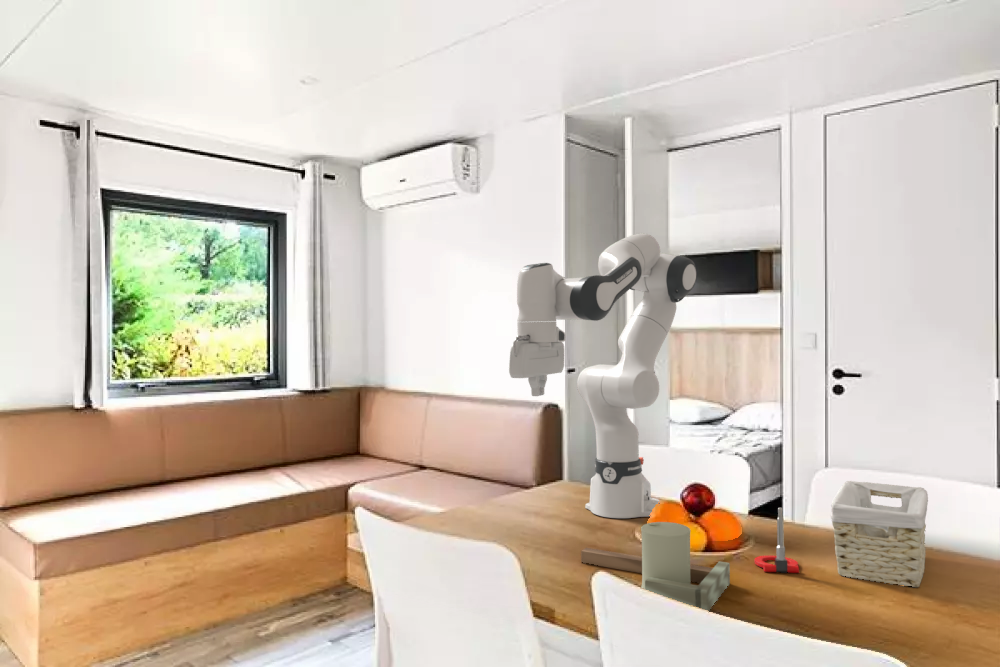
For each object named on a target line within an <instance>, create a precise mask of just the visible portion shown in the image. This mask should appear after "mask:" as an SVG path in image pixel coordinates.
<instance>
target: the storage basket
mask: <svg viewBox="0 0 1000 667" xmlns="http://www.w3.org/2000/svg"><path fill="white" fill-rule="evenodd" d="M872 496H874V497H884V498H890V499H893V498H894V499H895V498H896V499H901V506H889V505H882V504H876V503H873V502H872ZM928 496H929V494H928V491H927V490H926V489H925V488H924V487H921V486H920V487H919V486H918V487H915V486H908V485H900V484H899V485H898V484H887V483H886V484H885V483H878V482H876V483H875V482H868V481H867V482H865V481H854V480H847V481H845V482H844V483H843V485H841V487H840V488H839V489H838V491H837V493H836V495H835V496H834V498H833V499H832V502H831V505H830V506H831V515H830V519H831V524H832V526H833V529H832V530H833V534H834V535H833V536H834V537H833V538H834V545H835V546H834V551H835V557H836V562H837V574H838V575H839V576H842V577H845V576H846V577H845V578H850V577H851V579H857V578H858V580H862V579H864V580H863V581H869V580H870V582H874V581H876V582H875V583H880V582H884V583H883V584H886V583H890V584H889V585H893V584H898V585H897V586H899V585H904V586H912V587H911V588H919V587H920V585H921V583H922V580H923V578H924V573H925V566H926V565H925V563H926V546H925V545H926V542H925V541H926V533H925V532H926V526H927V524H926V516H927V513H928V503H929V497H928ZM904 586H903V587H904Z"/></svg>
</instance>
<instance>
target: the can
mask: <svg viewBox="0 0 1000 667" xmlns="http://www.w3.org/2000/svg"><path fill="white" fill-rule="evenodd" d="M640 531H641V557H642V573H641V574H642V575H641V577H642V578H641V589H642V588H644V589H645V580H646V579H647V578H648V577H652V578H658V579H663V580H669V581H675V582H681V583H686V584H692V582H691V579H690V564H691V528H690V527H689V526H687V525H684V524H681V523H677V522H669V521H656V522H655V521H654V522H649V523H648V522H647V523H644V524H643V525H642V526H641V527H640Z"/></svg>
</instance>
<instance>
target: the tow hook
mask: <svg viewBox="0 0 1000 667" xmlns="http://www.w3.org/2000/svg"><path fill="white" fill-rule="evenodd" d="M777 513H778V514H777V518H776V523H777V524H776V526H777V527H776V529H777V530H776V533H777V536H776V537H777V546H776V547H775V548H776V553H775V554H776V555H769V554H767V555H758V556H757V557H755V558H754V564H755V566H757V567H760V568H761V569H762V568H763V572H765V573H776V572H781V573H780V574H788V573H789V574H800V568H799V562H798V561H797V560H796V559H793V558H790V557H786V547H785V543H784V542H785V540H784V539H785V530H784V529H785V528H784V518H783V507H778V508H777ZM767 560H775V561H774V564H773V563H769V562H768V561H767ZM787 572H788V573H787Z"/></svg>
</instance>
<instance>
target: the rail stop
mask: <svg viewBox="0 0 1000 667" xmlns="http://www.w3.org/2000/svg"><path fill="white" fill-rule="evenodd" d="M581 562H583V563H582V564H586V563H589V564H588V565H591V564H594V565H593V566H597V565H598V566H599V567H602V568H603V567H604V568H610V569H615V570H621V571H628V572H633V573H638V574H642V555H641V556H639V555H633V554H629V553H628V554H627V553H623V552H615V551H611V550H610V551H608V550H603V549H598V548H591V547H585V548H583V549H582V550H580V563H581ZM730 566H731V565H730V562H726V561H719V560H718V562H717V563H716V565H714V567H709V566H703V565H696V564H691V563H690V579H691V581H692V582H691V584H686V583H681V582H675V581H669V580H663V579H658V578H652V577H648V578H647V579H646V580H645V589H646V590H649V591H652V592H654V593H657V594H660V595H663V596H666V597H668V598H672V599H675V600H677V601H680V602H683V603H686V604H689V605H693V606H696V607H699V608H702V609H705V610H708V611H709V612H710V611H711V610H712V608H713V607H714V606H715V604H716V603H717V602H718V601H719V599H720V598H719V597H721V596H722V595H723V594H724V593H725V591H726V590H727V588H728V587H729V586H730V584H731V580H730V579H731V576H730V574H731V571H730ZM695 582H697V583H696V584H692V583H695ZM697 584H698V585H697ZM727 586H728V587H727ZM725 589H726V590H725ZM724 590H725V591H724ZM722 593H723V594H722ZM721 594H722V595H721ZM718 598H719V599H718ZM716 601H717V602H716ZM715 602H716V603H715ZM714 603H715V604H714ZM713 605H714V606H713ZM712 606H713V607H712ZM711 607H712V608H711ZM710 609H711V610H710Z"/></svg>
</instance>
